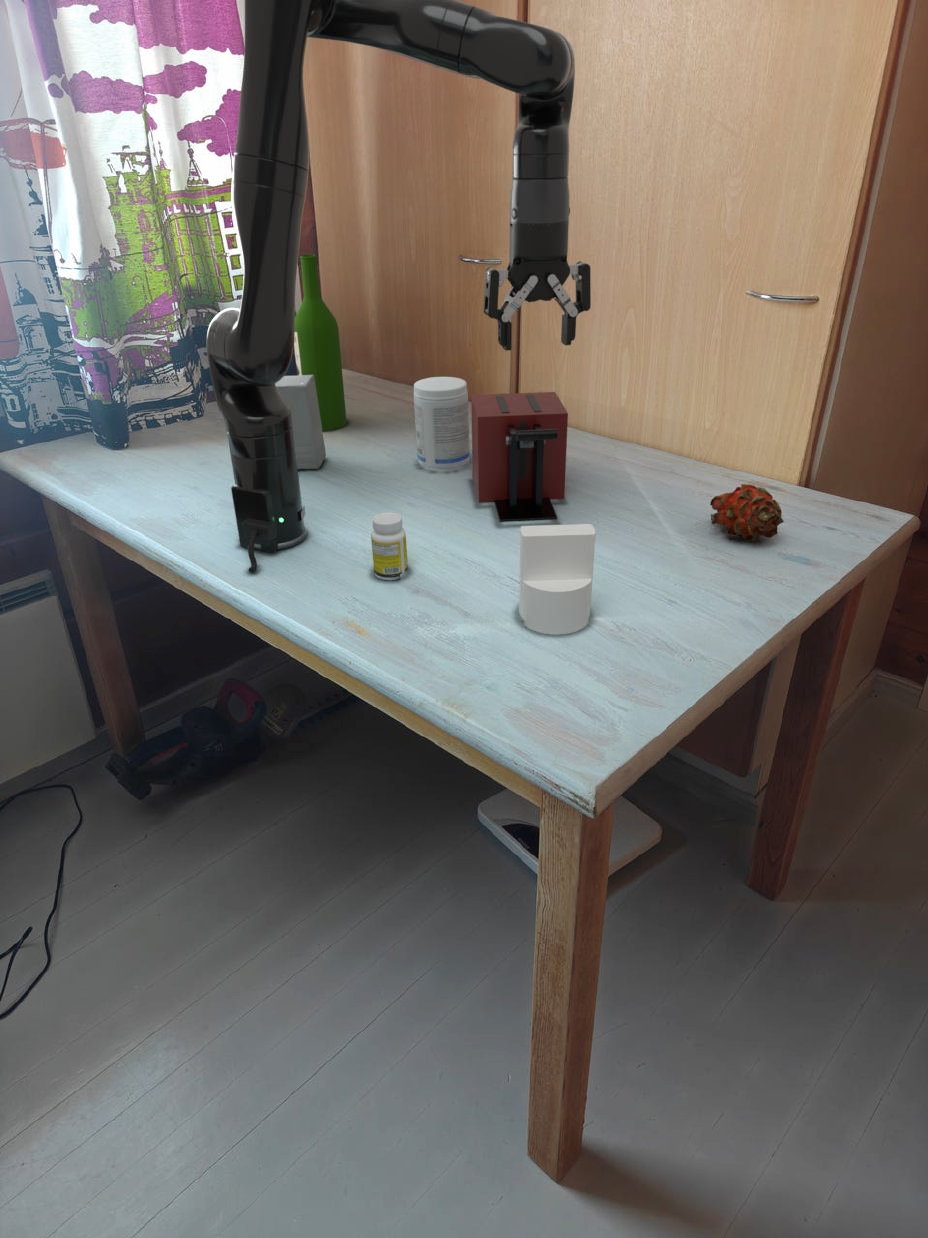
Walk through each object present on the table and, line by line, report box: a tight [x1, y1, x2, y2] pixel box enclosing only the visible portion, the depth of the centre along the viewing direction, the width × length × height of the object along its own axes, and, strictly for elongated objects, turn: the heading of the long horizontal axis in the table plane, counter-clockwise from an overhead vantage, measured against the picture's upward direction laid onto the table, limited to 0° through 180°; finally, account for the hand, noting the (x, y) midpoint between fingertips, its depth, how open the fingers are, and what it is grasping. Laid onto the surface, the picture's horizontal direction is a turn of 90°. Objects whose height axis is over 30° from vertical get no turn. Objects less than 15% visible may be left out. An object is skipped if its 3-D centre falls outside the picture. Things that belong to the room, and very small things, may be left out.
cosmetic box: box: [275, 375, 327, 470], centre depth 157 cm, size 8×7×16 cm
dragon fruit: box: [707, 483, 785, 542], centre depth 130 cm, size 8×8×12 cm
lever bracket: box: [493, 424, 558, 523], centre depth 136 cm, size 10×9×14 cm
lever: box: [516, 429, 558, 449], centre depth 128 cm, size 14×6×2 cm, turn 4°
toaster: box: [470, 391, 569, 504], centre depth 144 cm, size 12×14×15 cm
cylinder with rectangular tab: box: [518, 523, 596, 636], centre depth 108 cm, size 9×9×12 cm
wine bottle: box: [294, 254, 347, 432], centre depth 173 cm, size 9×9×32 cm
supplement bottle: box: [370, 512, 409, 581], centre depth 120 cm, size 5×5×8 cm
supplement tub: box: [413, 376, 471, 469], centre depth 156 cm, size 10×10×15 cm
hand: (536, 346), depth 120 cm, fingers open, 8 cm apart
